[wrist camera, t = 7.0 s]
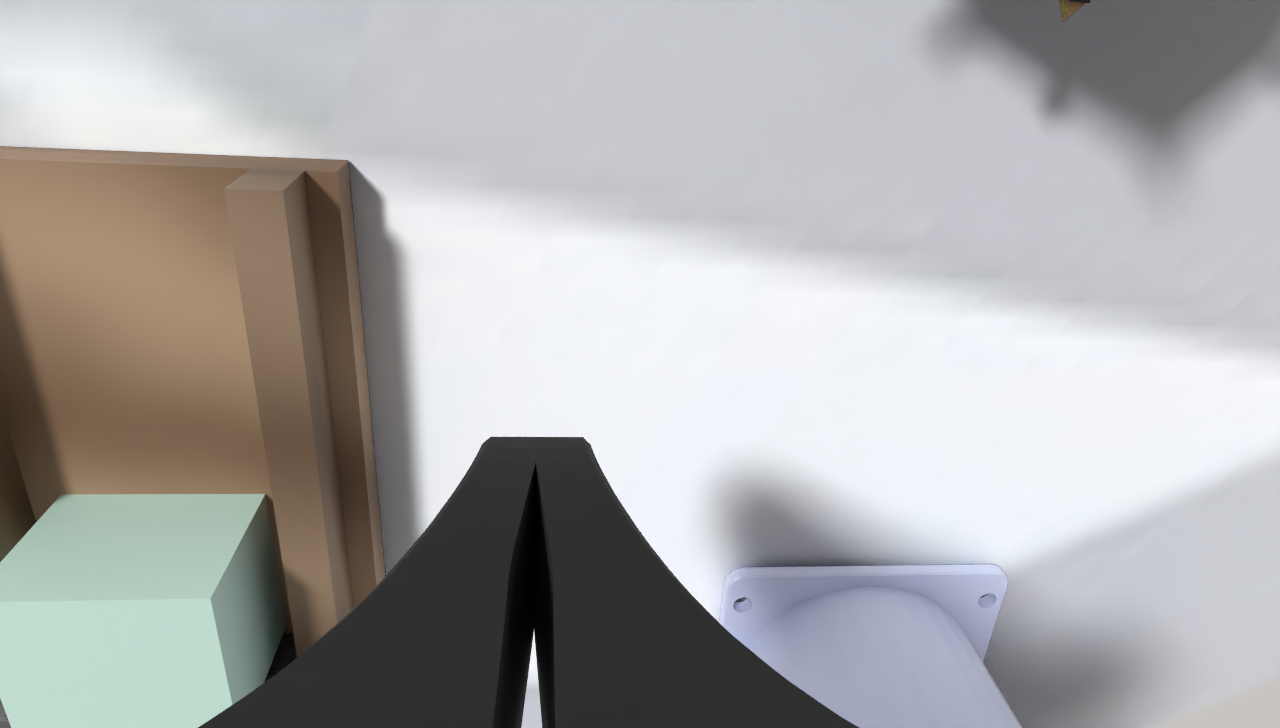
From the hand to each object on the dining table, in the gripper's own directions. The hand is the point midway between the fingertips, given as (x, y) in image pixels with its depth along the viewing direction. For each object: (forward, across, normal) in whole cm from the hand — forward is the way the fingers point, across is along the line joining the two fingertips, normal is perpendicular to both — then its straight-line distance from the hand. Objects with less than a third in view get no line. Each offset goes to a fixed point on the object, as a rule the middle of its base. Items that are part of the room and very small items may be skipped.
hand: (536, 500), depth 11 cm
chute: (+8, +8, +4) cm, 13 cm away
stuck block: (+7, +8, +7) cm, 13 cm away
